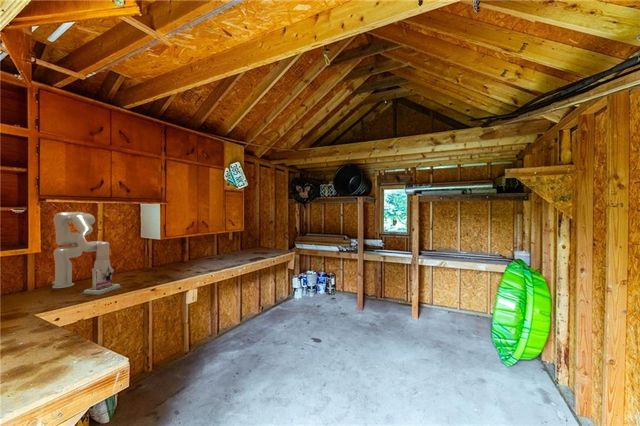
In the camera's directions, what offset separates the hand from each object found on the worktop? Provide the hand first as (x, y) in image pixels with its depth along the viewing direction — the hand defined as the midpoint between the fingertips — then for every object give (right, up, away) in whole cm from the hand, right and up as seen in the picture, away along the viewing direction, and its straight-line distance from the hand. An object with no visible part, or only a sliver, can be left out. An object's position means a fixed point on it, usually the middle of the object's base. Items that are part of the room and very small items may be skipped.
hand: (102, 280), depth 200 cm
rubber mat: (0, -8, 0) cm, 8 cm away
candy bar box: (0, -8, 0) cm, 8 cm away
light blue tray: (0, -8, 0) cm, 8 cm away
